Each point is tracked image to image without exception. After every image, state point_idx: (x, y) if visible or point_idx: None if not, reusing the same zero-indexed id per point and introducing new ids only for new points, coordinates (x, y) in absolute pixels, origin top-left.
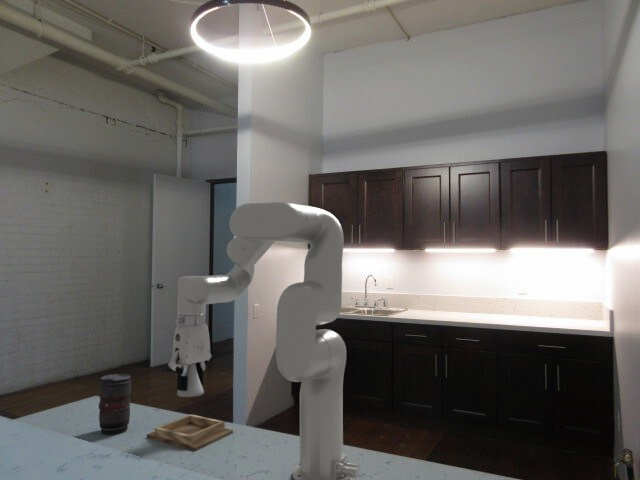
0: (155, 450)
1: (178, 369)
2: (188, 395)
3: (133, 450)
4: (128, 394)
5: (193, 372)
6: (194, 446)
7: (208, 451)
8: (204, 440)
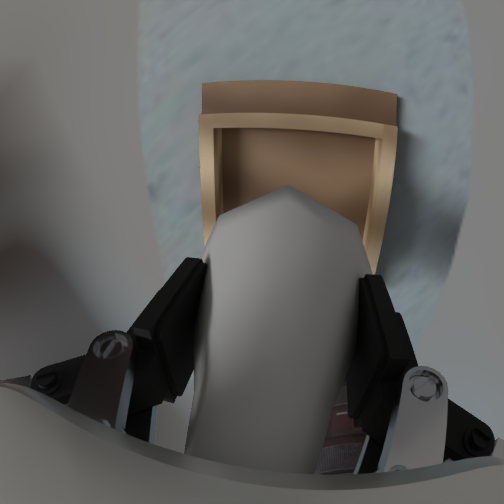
0: (431, 216)
1: (485, 434)
2: (359, 243)
3: (442, 269)
4: (342, 443)
5: (283, 370)
6: (390, 102)
7: (374, 55)
8: (333, 102)
